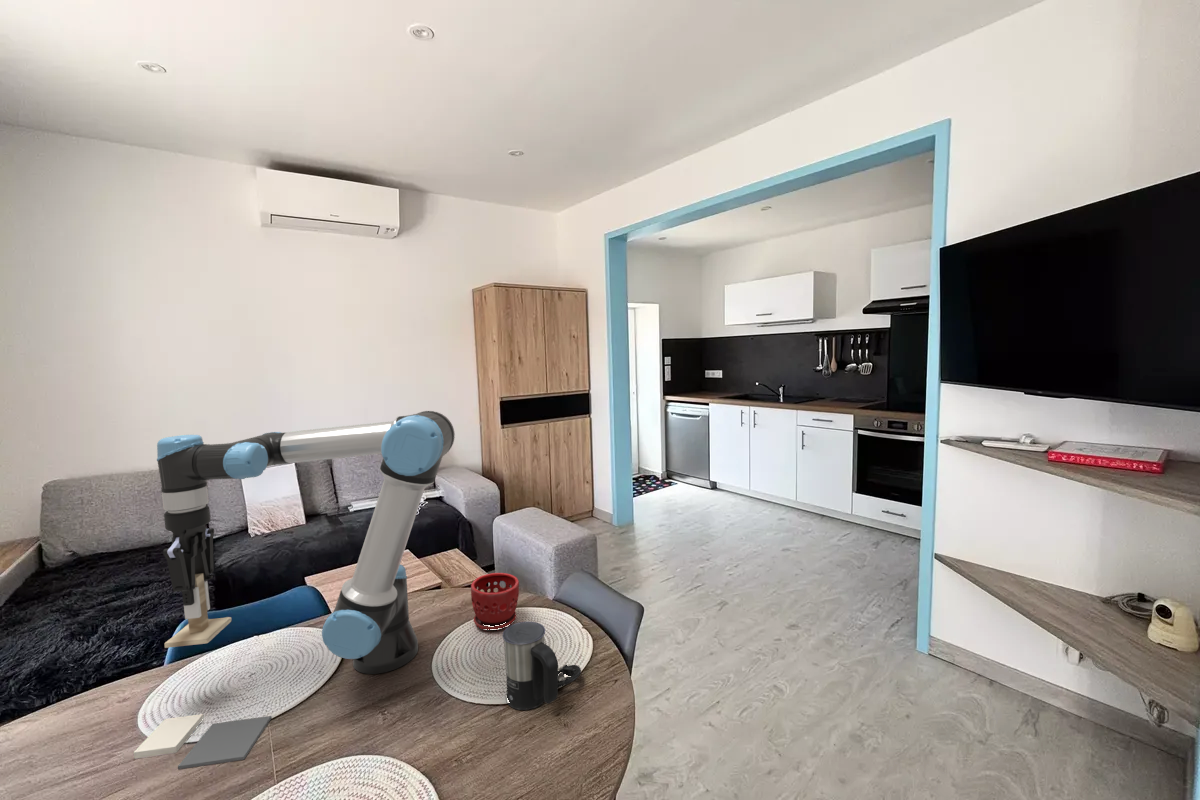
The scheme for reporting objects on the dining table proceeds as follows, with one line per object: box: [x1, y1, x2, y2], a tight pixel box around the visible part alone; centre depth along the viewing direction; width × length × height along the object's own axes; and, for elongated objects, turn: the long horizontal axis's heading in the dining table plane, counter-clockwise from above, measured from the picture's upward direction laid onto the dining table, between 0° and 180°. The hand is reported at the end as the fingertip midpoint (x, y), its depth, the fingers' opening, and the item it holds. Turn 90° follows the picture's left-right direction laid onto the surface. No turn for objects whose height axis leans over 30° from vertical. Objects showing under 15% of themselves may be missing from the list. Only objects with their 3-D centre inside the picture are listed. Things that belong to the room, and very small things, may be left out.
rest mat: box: [177, 715, 272, 770], centre depth 99 cm, size 11×11×1 cm
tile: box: [133, 713, 205, 760], centre depth 100 cm, size 7×2×9 cm
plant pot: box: [470, 572, 520, 630], centre depth 141 cm, size 13×13×12 cm
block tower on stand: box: [164, 574, 232, 649], centre depth 109 cm, size 8×9×13 cm
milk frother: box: [501, 621, 582, 711], centre depth 111 cm, size 14×16×15 cm
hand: (197, 613), depth 109 cm, fingers closed on block tower on stand, 2 cm apart
